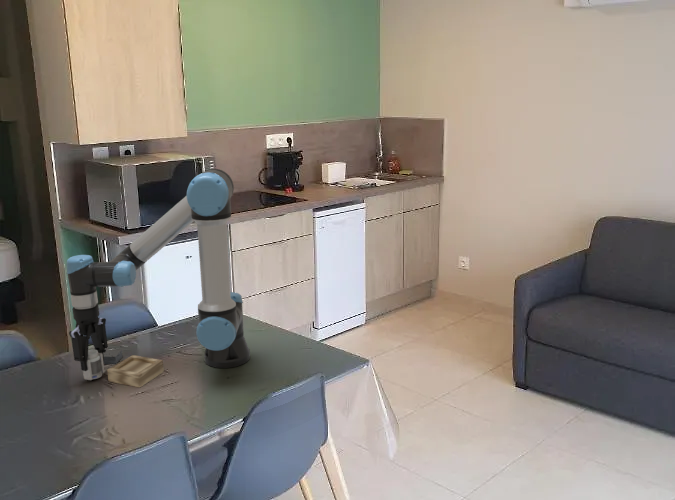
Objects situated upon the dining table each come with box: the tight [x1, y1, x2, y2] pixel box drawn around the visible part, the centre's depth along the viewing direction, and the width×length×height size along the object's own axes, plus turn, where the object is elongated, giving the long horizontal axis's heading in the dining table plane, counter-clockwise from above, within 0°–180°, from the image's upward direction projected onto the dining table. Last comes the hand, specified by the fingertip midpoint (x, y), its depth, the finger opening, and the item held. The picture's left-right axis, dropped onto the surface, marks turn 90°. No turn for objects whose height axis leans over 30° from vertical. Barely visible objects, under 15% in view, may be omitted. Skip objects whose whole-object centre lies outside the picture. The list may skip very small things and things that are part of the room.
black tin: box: [103, 349, 124, 365], centre depth 216 cm, size 6×6×3 cm
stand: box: [106, 354, 165, 388], centre depth 204 cm, size 12×12×4 cm
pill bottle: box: [88, 348, 103, 380], centre depth 202 cm, size 5×5×8 cm
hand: (94, 375), depth 203 cm, fingers closed on pill bottle, 5 cm apart
